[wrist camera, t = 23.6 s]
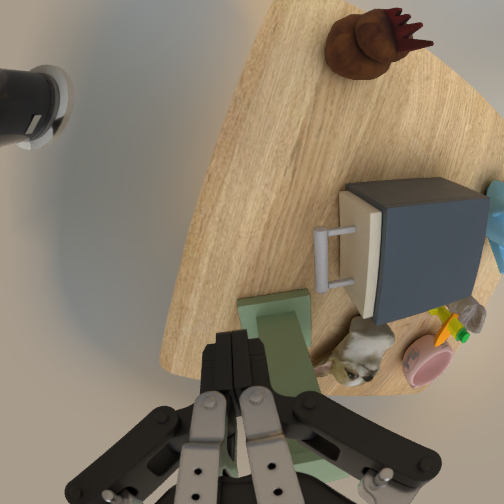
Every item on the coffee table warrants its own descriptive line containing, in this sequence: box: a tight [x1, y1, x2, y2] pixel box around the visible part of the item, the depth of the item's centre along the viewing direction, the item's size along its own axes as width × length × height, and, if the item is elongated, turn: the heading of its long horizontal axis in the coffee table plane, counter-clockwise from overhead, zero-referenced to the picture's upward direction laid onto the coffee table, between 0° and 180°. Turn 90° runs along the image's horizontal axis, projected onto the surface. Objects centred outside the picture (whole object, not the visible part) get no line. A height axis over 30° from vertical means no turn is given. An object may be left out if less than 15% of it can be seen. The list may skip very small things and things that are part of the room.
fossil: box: [447, 296, 486, 333], centre depth 34 cm, size 6×4×10 cm, turn 8°
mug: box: [402, 334, 453, 389], centre depth 41 cm, size 12×10×6 cm
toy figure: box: [428, 306, 470, 347], centre depth 32 cm, size 7×4×12 cm, turn 162°
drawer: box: [313, 191, 383, 319], centre depth 28 cm, size 18×11×8 cm, turn 98°
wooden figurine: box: [325, 8, 434, 80], centre depth 17 cm, size 7×6×15 cm
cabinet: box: [346, 177, 491, 326], centre depth 28 cm, size 15×13×10 cm
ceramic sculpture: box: [312, 316, 395, 386], centre depth 36 cm, size 11×9×15 cm
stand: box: [237, 289, 349, 483], centre depth 27 cm, size 9×9×22 cm
